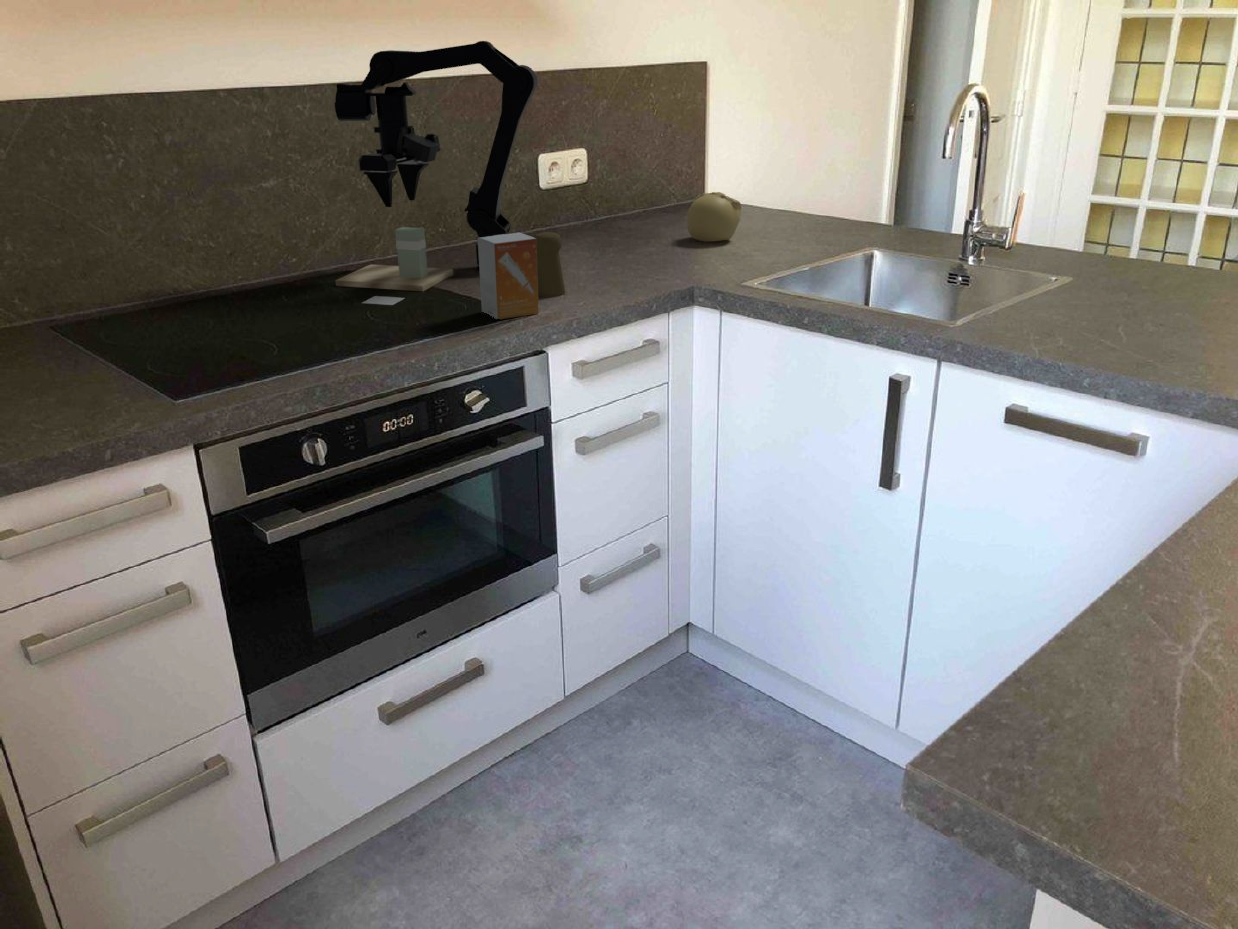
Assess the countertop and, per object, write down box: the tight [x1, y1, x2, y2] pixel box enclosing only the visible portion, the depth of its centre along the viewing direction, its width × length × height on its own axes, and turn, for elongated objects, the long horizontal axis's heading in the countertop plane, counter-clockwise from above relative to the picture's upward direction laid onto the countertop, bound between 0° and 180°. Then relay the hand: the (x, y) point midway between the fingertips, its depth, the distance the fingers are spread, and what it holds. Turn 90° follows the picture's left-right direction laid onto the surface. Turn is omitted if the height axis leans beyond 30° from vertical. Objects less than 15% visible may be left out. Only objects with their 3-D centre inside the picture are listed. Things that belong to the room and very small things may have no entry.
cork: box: [534, 231, 566, 298], centre depth 181 cm, size 6×6×11 cm
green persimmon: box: [686, 191, 742, 243], centre depth 224 cm, size 11×12×11 cm
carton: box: [394, 226, 428, 279], centre depth 189 cm, size 5×3×9 cm
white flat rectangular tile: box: [361, 295, 405, 306], centre depth 178 cm, size 6×5×1 cm
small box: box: [477, 232, 540, 320], centre depth 168 cm, size 8×6×13 cm
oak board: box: [334, 264, 454, 292], centre depth 192 cm, size 18×14×1 cm
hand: (400, 203), depth 197 cm, fingers open, 9 cm apart
